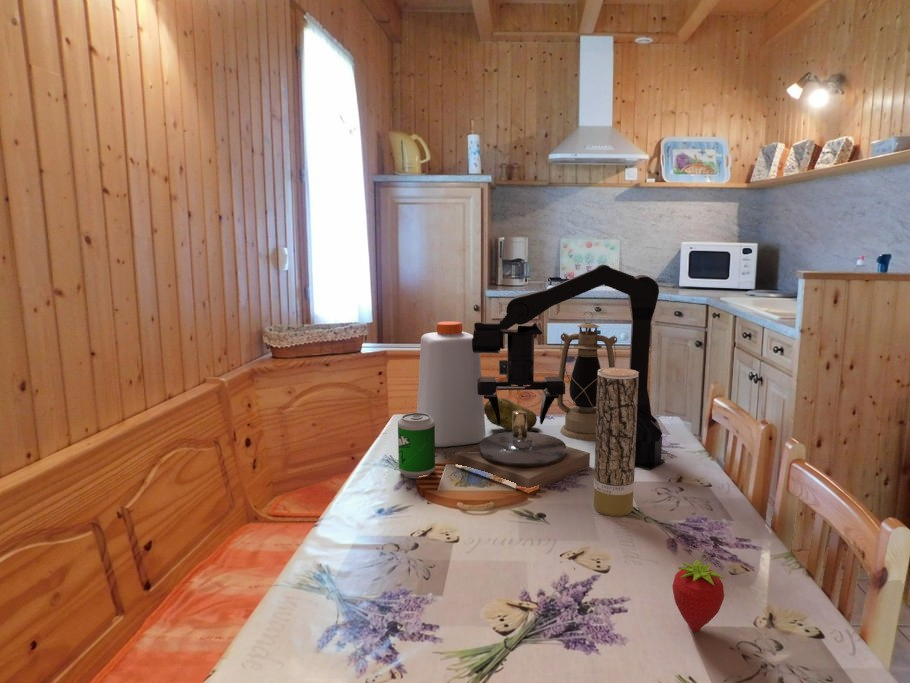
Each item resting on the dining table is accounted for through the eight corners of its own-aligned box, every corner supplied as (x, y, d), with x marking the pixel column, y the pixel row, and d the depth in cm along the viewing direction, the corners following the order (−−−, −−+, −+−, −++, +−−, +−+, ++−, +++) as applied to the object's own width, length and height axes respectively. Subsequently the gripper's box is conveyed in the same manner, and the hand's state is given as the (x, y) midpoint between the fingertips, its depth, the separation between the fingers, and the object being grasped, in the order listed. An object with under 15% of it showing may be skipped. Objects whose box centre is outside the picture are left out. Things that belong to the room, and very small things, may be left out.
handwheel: (572, 467, 124) (573, 435, 123) (480, 467, 124) (480, 435, 123) (559, 438, 141) (559, 409, 140) (478, 438, 142) (478, 410, 141)
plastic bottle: (412, 431, 158) (410, 320, 153) (469, 425, 162) (469, 317, 158) (428, 450, 144) (426, 328, 139) (490, 443, 148) (491, 325, 143)
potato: (533, 436, 153) (533, 404, 152) (481, 432, 157) (481, 400, 156) (538, 426, 161) (538, 395, 160) (488, 422, 165) (488, 392, 163)
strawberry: (721, 618, 80) (726, 544, 79) (721, 654, 73) (727, 574, 72) (672, 608, 82) (676, 536, 81) (668, 642, 76) (672, 564, 74)
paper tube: (634, 519, 108) (640, 376, 104) (593, 516, 110) (597, 375, 105) (631, 503, 115) (637, 368, 111) (593, 500, 116) (597, 367, 112)
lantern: (619, 429, 158) (623, 310, 153) (610, 443, 148) (615, 316, 143) (562, 422, 164) (565, 307, 159) (550, 435, 154) (552, 313, 149)
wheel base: (589, 466, 133) (589, 452, 133) (529, 493, 119) (529, 478, 119) (516, 444, 147) (516, 431, 147) (455, 466, 133) (455, 452, 133)
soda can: (437, 467, 133) (436, 412, 131) (432, 480, 126) (432, 422, 124) (402, 466, 134) (401, 411, 132) (395, 479, 127) (394, 421, 125)
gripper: (558, 347, 144) (557, 413, 147) (476, 347, 144) (476, 414, 147) (566, 356, 133) (564, 427, 136) (477, 357, 133) (478, 428, 136)
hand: (520, 423), depth 139 cm, fingers open, 9 cm apart
